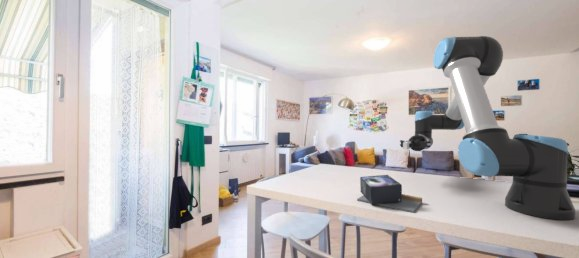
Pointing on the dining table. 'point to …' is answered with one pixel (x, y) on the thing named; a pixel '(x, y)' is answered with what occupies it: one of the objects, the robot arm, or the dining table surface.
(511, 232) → the dining table surface
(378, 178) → the small box
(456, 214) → the dining table surface
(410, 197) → the grey mat
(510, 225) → the dining table surface
